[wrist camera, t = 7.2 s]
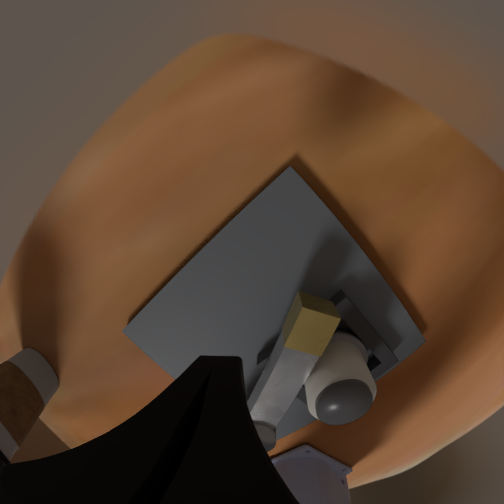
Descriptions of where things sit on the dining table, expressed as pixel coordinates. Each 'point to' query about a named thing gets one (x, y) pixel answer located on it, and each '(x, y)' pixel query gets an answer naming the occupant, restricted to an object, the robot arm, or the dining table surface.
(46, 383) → the coffee cup
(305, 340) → the clip
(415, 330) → the panel
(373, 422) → the dining table surface
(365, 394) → the plug
